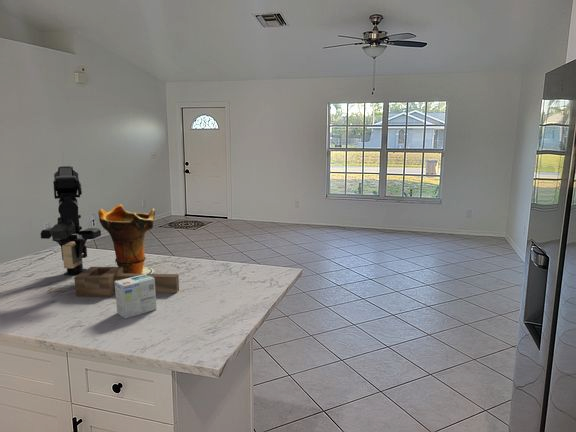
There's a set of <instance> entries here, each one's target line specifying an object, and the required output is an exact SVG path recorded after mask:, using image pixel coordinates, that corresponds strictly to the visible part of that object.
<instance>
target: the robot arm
mask: <svg viewBox="0 0 576 432" xmlns="http://www.w3.org/2000/svg"><path fill="white" fill-rule="evenodd" d="M53 178H54V180H53V182H52V183H53V194H54V195H53V196H54V200H56V199H57V200H58V199H59V200H58V207H57V208H58V209H57V210H58V214H59V217H57V223H55V225H54V226H52V227H47V228H45V229H42V230H41V231H40V239H43V240H44V239H45V240H46V239H47V240H49V239H51V238H52V240H51V241H53V242H55V243H57V244H58V245H59V246H60V250H61V260H62V261H63V251H62V245H65V244H67V243H69V242H75V243H76V253H77V258H79V257H80V255H81V254H82V259H86V258H88V249H87V246H86V242H87V241H88V240H94V239H97V238H99V237H101V236H102V233H101V232H102V231H101V230H100V228H99V227H88V228H86V229H83V228H82V226H81V225H80V219H81V218H82V215H81V214H79V206H78V205H79V204H78V199H77V198H81V196H82V195H83V194H82V193H83V191H82V184H81V182H80V180H79V173H78V172H77V171H75V170H74V167H73V166H69V165H67V166H66V165H65V166H63V165H62V166H59V167H57V171H56V172H54V174H53ZM83 266H84V265H83V262H82V264H80V265H78V266H76V267H74V268H66V272H65V271H64V272H63V275H65V276H67V275H70V276H71V275H74V276H77V275H79V274H80V273H82V272H83V271H85V270H87V269H88V268H84V267H83Z"/></svg>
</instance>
